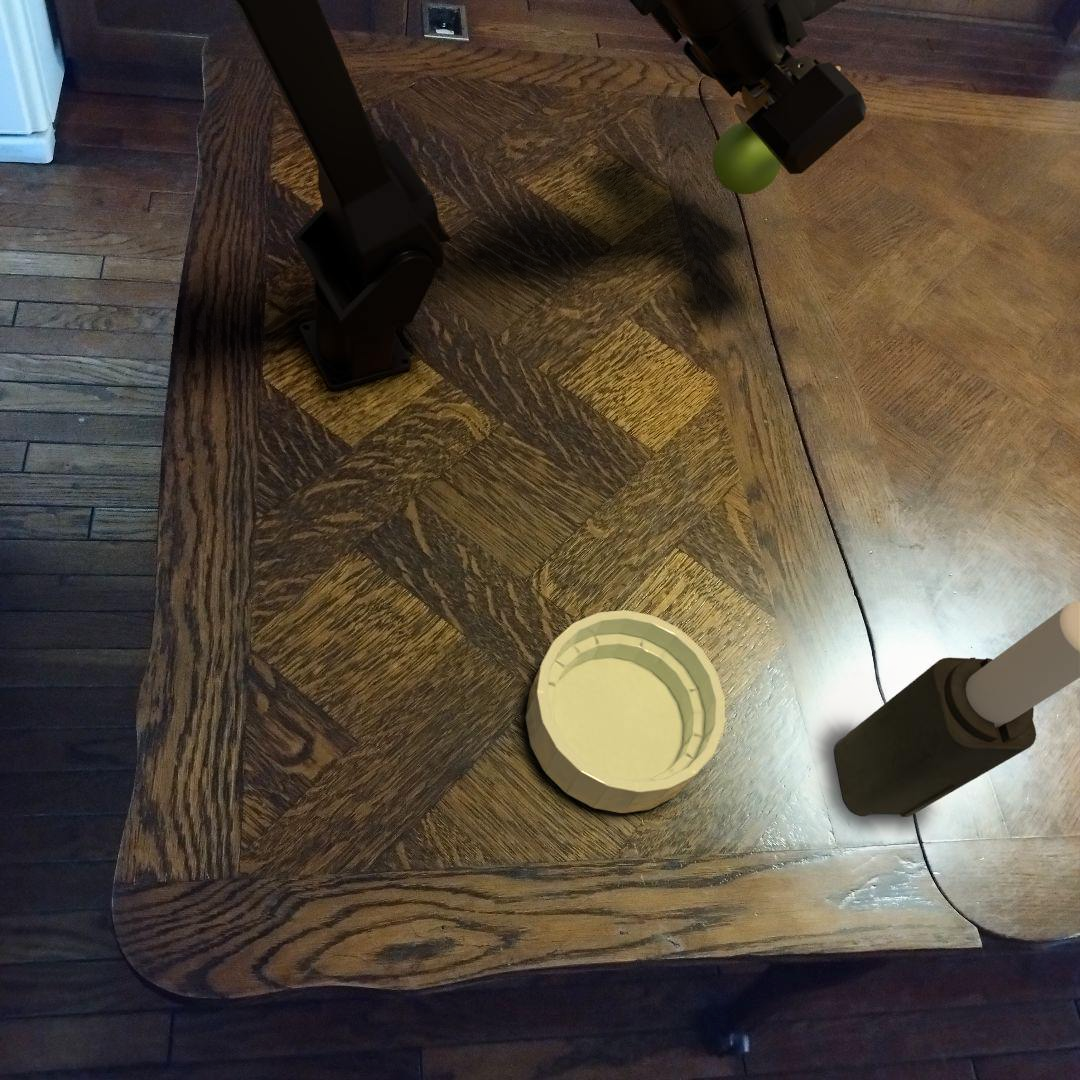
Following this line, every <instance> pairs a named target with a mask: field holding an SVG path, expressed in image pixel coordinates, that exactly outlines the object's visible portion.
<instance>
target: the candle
mask: <svg viewBox="0 0 1080 1080" xmlns="http://www.w3.org/2000/svg"><path fill="white" fill-rule="evenodd" d="M1078 679H1080V600H1076V601H1073V602H1070V603H1068V604H1066V605H1065V606H1064V607H1062V608H1060V609H1059V610H1058V611H1057V612H1055V613H1054V614H1052V615H1051V616H1050V617H1049V618H1047V619H1046V620H1044V621H1043V622H1042V623H1041V624H1039V625H1037V626H1036V627H1035V628H1033V629H1032V630H1031V631H1029V633H1027V634H1025V635H1024V636H1023V637H1022V638H1020V639H1019V640H1017V641H1016V642H1014V643H1013V644H1012V645H1011V646H1009V647H1008V648H1007V649H1005V650H1004V651H1002V652H1001V653H1000V654H998V655H997V656H996V657H995V658H989V657H985V658H976V657H969V658H968V657H942V658H940V659H938V660H937V661H936V662H934V664H932V665H931V666H929V668H927V669H925V671H924V672H922V673H921V674H920V675H918V677H916V678H915V679H914V680H912V681H911V682H910V683H908V685H906V686H905V687H904V688H902V689H901V690H900V691H899V692H898V693H896V694H895V695H894V696H892V697H891V698H890V699H889V700H888V701H886V702H885V703H884V704H883V705H881V706H880V707H879V708H878V709H877V710H875V711H874V712H872V713H871V714H870V715H869V716H868V717H867V718H865V719H864V720H863V721H861V722H860V723H859V724H858V725H856V726H855V727H853V729H852V730H850V731H849V732H848V733H847V734H846V735H844V736H843V737H842V738H840V739H839V740H838V741H837V742H836V744H835V746H834V758H835V764H836V769H837V774H838V778H839V784H840V788H841V795H842V798H843V801H844V804H845V805H846V807H847V808H848V809H849V810H850V811H851V812H852V813H854V814H855V815H857V816H860V817H867V816H868V815H870V814H893V815H895V814H897V815H899V814H900V815H901V816H902V817H904V818H905V817H910V816H912V815H914V814H916V813H918V812H920V811H922V810H923V809H925V808H927V807H928V806H930V805H932V804H934V803H935V802H937V801H939V800H941V799H943V798H944V797H945V796H948V795H950V794H951V793H953V792H955V791H956V790H958V789H960V788H962V787H964V786H966V785H967V784H969V783H971V782H972V781H974V780H975V779H977V778H979V777H981V776H983V775H984V774H986V773H988V772H989V771H991V770H993V769H996V767H998V766H1000V765H1001V764H1003V763H1005V762H1007V761H1009V760H1011V759H1012V758H1014V757H1016V756H1017V755H1019V754H1021V753H1023V752H1024V751H1027V750H1028V749H1030V748H1031V747H1032V746H1033V745H1034V744H1035V741H1036V740H1037V730H1036V726H1035V723H1034V714H1035V713H1034V711H1035V708H1034V707H1036V706H1037V705H1039V704H1040V703H1042V702H1043V701H1045V700H1047V699H1049V698H1051V696H1053V695H1055V694H1056V693H1058V692H1059V691H1061V690H1062V689H1065V688H1066V687H1067V686H1069V685H1071V684H1072V683H1074V682H1076V681H1077V680H1078Z"/></svg>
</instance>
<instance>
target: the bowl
mask: <svg viewBox="0 0 1080 1080" xmlns="http://www.w3.org/2000/svg"><path fill="white" fill-rule="evenodd" d="M725 719H726V698H725V694H724V692H723V688H722V684H721V681H720V677H719V674H718V672H717V670H716V668H715V667H714V665H713V664H712V662H711V661H710V659H709V657H708V655H707V654H706V653H705V651H704V650H703V648H702V647H701V646H700V645H699V644H698V643H696V642H695V641H694V640H693V639H692V638H691V637H690V636H689V635H687V634H686V633H685V632H684V630H682V629H680V628H679V627H677V626H675V625H673V624H671V623H670V622H667V621H665V620H663V619H662V618H660V617H657V616H655V615H652V614H648V613H643V612H637V611H633V610H628V609H623V610H612V611H600V612H596V613H593V614H591V615H589V616H586V617H584V618H582V619H579V620H577V621H574V622H573V623H571V624H570V625H569V626H568V627H567V628H566V629H565V630H563V632H562V633H560V634H559V635H558V636H556V637H555V639H554V640H553V641H552V642H551V644H550V646H549V648H548V650H547V652H546V654H545V656H544V658H543V660H542V661H541V663H540V665H539V668H538V670H537V673H536V675H535V677H534V681H533V682H532V685H531V688H530V690H529V693H528V699H527V707H526V711H525V721H526V727H527V728H526V729H527V734H528V738H529V739H528V740H529V745H530V747H531V749H532V751H533V753H534V755H535V757H536V759H537V761H538V763H539V764H540V767H541V769H542V770H543V772H545V774H546V775H547V776H548V777H549V778H550V779H551V780H552V781H553V782H554V783H555V784H556V785H557V786H558V787H559V789H561V790H562V791H563V792H564V793H566V794H567V795H568V796H570V797H572V798H574V799H575V800H577V801H580V802H581V803H583V804H585V805H587V806H589V807H591V808H593V809H598V810H604V811H608V812H614V813H618V814H627V813H634V812H640V811H641V812H642V811H648V810H649V811H650V810H652V809H654V808H656V807H658V806H659V805H661V804H664V803H666V802H667V801H669V800H671V799H673V798H675V797H676V796H677V795H678V794H679V793H680V792H681V791H682V790H683V789H684V788H686V786H687V785H688V784H689V783H690V781H692V780H693V778H695V776H696V775H697V774H698V773H700V771H701V770H702V769H703V768H704V767H705V766H706V764H708V762H709V761H710V760H711V759H712V758H713V757H714V755H715V754H716V751H717V749H718V746H719V744H720V742H721V740H722V739H721V738H722V736H723V734H724V732H725Z"/></svg>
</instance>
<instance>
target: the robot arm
mask: <svg viewBox="0 0 1080 1080" xmlns="http://www.w3.org/2000/svg"><path fill="white" fill-rule="evenodd" d="M628 1H629V3H630V4H631V5H632V6H633V7H634V8H635V10H637V12H638V13H639V14H640V15H642V17H643V16H644V17H646V16H649V15H651V16H652V18H653V20H654V22H656V24H657V25H658V26H659V27H660V29H662V30H663V32H664V33H665V34H666V36H668V37H669V38H670V40H671V41H672V42H673V43H674V44H677V43H678V42H679V41H680V40H681V39H682V38H683V37H684V38H685V40H687V41H686V42H685V44H684V45H683V49H682V50H683V53H684V55H685V56H686V57H687V58H688V59H689V60H690V62H691V63H692V64H693V65H694V66H695V67H696V68H697V70H698V71H699V72H700V73H701V74H703V75H705V76H707V77H709V78H711V79H713V80H714V81H716V82H717V84H719V85H720V86H721V87H722V89H724V90H725V92H726V93H727V94H728V95H729V96H730V98H733V97H734V96H735V95H736V94H737V93H740V94H742V87H744V88H745V89H746V90H747V92H748V93H749V94H750V95H751V96H752V97H753V98H754V99H757V98H759V97H760V96H761V95H762V94H763V93H764V92H765V94H766V96H767V98H768V99H769V101H766V102H765V103H764V106H763V107H762V108H761V109H759V110H758V111H757V112H756V113H755V114H754V115H753V116H752V117H751V118H750V119H748V120H747V121H746V124H747V125H748V126H749V127H750V128H751V129H752V131H753V132H754V133H755V134H756V135H757V136H758V137H759V138H760V140H761V141H762V142H763V143H764V144H765V145H766V147H767V148H768V149H769V151H770V152H771V153H772V154H773V155H774V156H775V157H776V159H777V160H778V161H779V162H780V163H781V166H782V167H783V168H784V169H785V170H786V171H787V172H788V173H789V175H801V174H803V173H805V172H806V171H807V170H808V169H809V168H811V166H812V165H813V164H815V163H816V162H817V161H818V160H819V159H820V158H821V157H823V156H824V155H825V154H826V153H827V152H828V151H830V149H832V148H833V147H834V146H836V144H837V143H839V142H840V141H841V140H842V139H843V138H844V137H846V136H847V135H848V134H849V133H850V132H851V131H852V130H854V129H855V128H856V127H857V126H858V125H859V124H861V123H862V122H864V120H865V118H866V112H867V106H866V103H865V100H864V97H863V96H862V93H861V91H860V90H859V89H858V88H857V87H856V86H855V85H854V84H853V83H852V82H851V81H850V80H849V79H848V78H847V76H845V75H844V74H843V73H842V72H841V71H839V70H838V69H837V68H836V66H835V64H834V63H832V62H831V61H828V62H823V63H821V62H819V61H818V60H817V59H816V58H814V59H813V60H812V58H811V57H809V56H807V55H800V56H798V57H794V56H793V55H792V54H791V52H789V51H788V49H786V48H787V47H788V46H789V48H790V49H794V48H796V46H798V45H799V44H800V43H801V42H802V41H803V40H805V38H806V37H807V36H808V33H807V30H806V27H805V25H804V23H803V22H809V21H810V20H813V19H815V18H816V17H818V16H819V15H821V14H823V13H825V12H826V11H827V10H830V9H831V8H833V7H834V6H836V5H838V4H839V3H845V2H847V1H848V0H628ZM233 2H234V4H235V6H236V8H237V10H238V12H239V14H240V16H241V17H242V19H243V21H244V24H245V26H246V27H247V29H248V31H249V33H250V35H251V37H252V39H253V41H254V43H255V45H256V47H257V49H258V51H259V53H260V55H261V57H262V58H263V60H264V63H265V64H266V67H267V68H268V70H269V72H270V74H271V76H272V78H273V80H274V82H275V84H276V86H277V89H278V90H279V92H280V94H281V96H282V97H283V99H284V101H285V103H286V106H287V108H288V109H289V111H290V113H291V115H292V118H293V120H294V121H295V123H296V126H297V127H298V129H299V131H300V133H301V135H302V137H303V139H304V141H305V143H306V145H307V147H308V148H309V151H310V152H311V154H312V156H313V158H314V160H315V162H316V166H317V169H318V175H317V176H318V177H317V188H318V192H319V196H320V200H321V203H322V205H321V206H320V207H319V208H318V210H316V211H315V212H314V214H313V215H312V216H311V217H310V218H309V219H308V220H307V221H306V222H305V224H304V225H302V227H300V229H299V230H298V231H297V232H296V233H295V234H294V235H293V237H292V240H293V242H294V244H295V246H296V248H297V249H298V251H299V253H300V254H301V256H302V258H303V260H304V263H305V264H306V266H307V268H308V269H309V271H310V273H311V275H312V276H313V278H314V280H315V281H314V316H315V319H313V320H309V321H305V322H302V323H301V324H300V325H299V334H300V335H301V337H302V339H303V341H304V343H305V345H306V347H307V349H308V351H309V353H310V354H311V355H310V356H312V358H313V360H314V363H315V364H316V366H317V369H318V370H319V372H320V374H321V376H322V377H323V380H324V381H325V383H326V386H327V387H328V388H329V389H330V390H331V391H340V390H343V389H347V388H350V387H353V386H357V385H360V384H364V383H367V382H368V383H369V382H371V381H374V380H378V379H382V378H385V377H388V376H392V375H395V374H399V373H403V372H405V371H406V372H407V371H408V370H410V369H411V368H412V364H413V363H412V359H411V358H410V356H409V353H407V351H406V349H405V347H404V345H403V344H402V342H401V340H400V338H399V336H398V335H397V333H396V328H399V327H403V326H407V325H410V324H411V323H412V322H413V321H414V319H415V316H416V315H417V313H418V311H419V308H420V307H421V305H422V303H423V301H424V299H425V296H426V294H427V293H428V290H429V288H430V287H431V285H432V283H433V280H434V278H435V275H436V274H437V271H438V270H439V269H442V267H443V266H444V263H445V258H446V256H445V255H446V254H445V249H444V246H443V244H442V243H449V242H450V241H451V239H452V238H451V236H450V235H449V233H448V232H447V230H446V228H445V227H444V226H443V224H442V222H441V220H439V214H438V207H437V204H436V201H435V197H434V195H433V194H432V192H431V190H430V189H429V188H428V186H427V184H426V183H425V181H424V180H423V179H422V176H421V175H420V174H419V172H418V171H417V169H416V167H415V166H414V164H413V163H412V161H411V160H410V158H409V157H408V156H407V154H406V152H405V151H404V149H403V148H402V146H401V145H400V143H399V141H398V140H397V139H396V138H395V137H393V138H391V139H390V140H388V141H387V142H386V143H384V144H383V145H382V146H380V145H379V142H378V140H377V137H376V135H375V132H374V130H373V128H372V125H371V123H370V121H369V118H368V116H367V113H366V111H365V109H364V106H363V104H362V102H361V99H360V97H359V94H358V92H357V90H356V88H355V85H354V83H353V81H352V77H351V75H350V74H349V70H348V68H347V66H346V64H345V62H344V59H343V56H342V54H341V52H340V49H339V47H338V45H337V42H336V40H335V38H334V35H333V33H332V30H331V28H330V26H329V23H328V21H327V19H326V15H325V14H324V11H323V10H322V6H321V4H320V2H319V0H233ZM777 66H779V67H780V68H781V69H782V70H783V69H784V70H783V71H784V73H785V74H783V73H782V72H781V71H780V69H779V68H778V67H777ZM788 72H790V73H791V75H792V76H791V75H790V74H789V73H788ZM761 79H762V80H763V81H764V82H765V83H766V84H767V85H768V86H769V88H768V89H767V90H766V87H765V86H763V84H762V82H760V80H761ZM765 90H766V91H765Z"/></svg>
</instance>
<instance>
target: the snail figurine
mask: <svg viewBox="0 0 1080 1080" xmlns="http://www.w3.org/2000/svg"><path fill="white" fill-rule="evenodd" d="M777 67H778V68H779V69H780V71H781V72H782V73H783V74H785V73H784V71H783V70H784V69H783V70H782V69H781V68H780V66H778V65H777ZM835 67H836V68H837V69H838V70H839V71H840V72H841V71H842V68H841V66H839V65H836V66H835ZM788 73H789V74H790V75H791V73H790V71H789V72H788ZM791 76H792V75H791ZM760 82H762V84H763V86H765V87H766V90H767V89H768V88H769V86H768V85H767V84H766V83H765V82H764V81H763V80H762V79H761V80H760ZM766 90H765V91H766ZM741 100H742V102H743V105H744V106H743V105H741V104H739V103H735V104H734V106H733V108H734V111H735V114H736V116H737V119H738V121H739V123H735V124H734V125H732V126H730V127H728V128H727V129H726V130H725V131H724V132H723V133H722V134H721V136H720V137H719V138H718V140H717V142H716V144H715V145H714V149H713V153H712V167H713V172H714V175H715V177H716V179H717V180H718V182H719V183H720V185H722V187H724V188H725V189H726V190H728V191H730V192H732V193H734V194H738V195H752V194H756V193H758V192H762V190H765V189H766V188H767V187H768V186H769V185H771V184H772V183H773V181H774V180H775V179H776V178H777V176H778V174H779V172H780V169H781V167H782V164H781V163H780V162H779V161H778V160H777V159H776V157H775V156H774V155H773V154H772V153H771V152H770V151H769V149H768V148H767V147H766V145H765V144H764V143H763V142H762V141H761V140H760V138H759V137H758V136H757V135H756V134H755V133H754V132H753V131H752V129H751V128H750V127H749V126H748V125H747V124H746V121H747V120H748V119H750V118H751V117H752V116H753V115H754V114H755V113H756V112H757V111H758V110H759V109H761V108H762V107H763V106H764V103H765V102H766V101H769V99H768V98H767V96H766V94H765V92H764V93H763V94H762V95H761V96H760V97H759V98H757V99H754V98H753V97H752V96H751V95H750V94H749V93H748V92H747V90H746V89H745V88H744V87H742V93H741Z"/></svg>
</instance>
